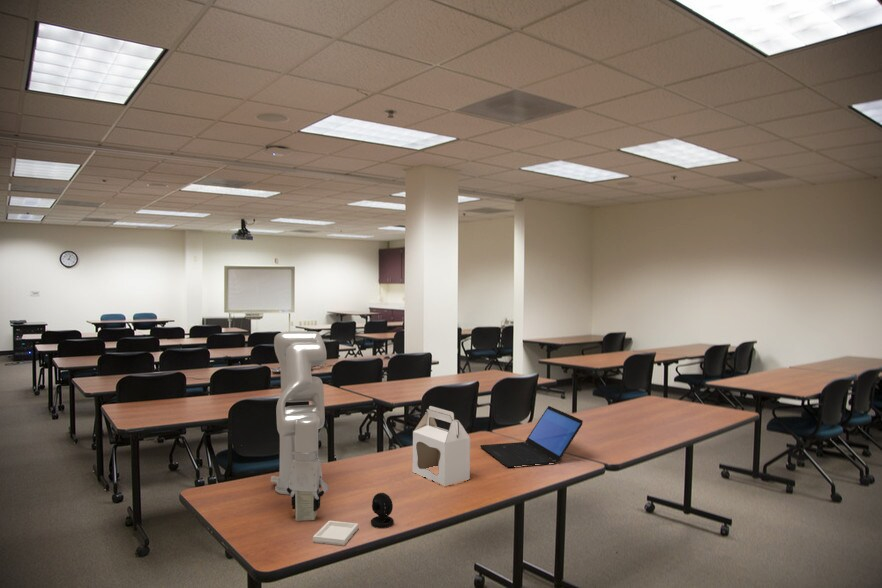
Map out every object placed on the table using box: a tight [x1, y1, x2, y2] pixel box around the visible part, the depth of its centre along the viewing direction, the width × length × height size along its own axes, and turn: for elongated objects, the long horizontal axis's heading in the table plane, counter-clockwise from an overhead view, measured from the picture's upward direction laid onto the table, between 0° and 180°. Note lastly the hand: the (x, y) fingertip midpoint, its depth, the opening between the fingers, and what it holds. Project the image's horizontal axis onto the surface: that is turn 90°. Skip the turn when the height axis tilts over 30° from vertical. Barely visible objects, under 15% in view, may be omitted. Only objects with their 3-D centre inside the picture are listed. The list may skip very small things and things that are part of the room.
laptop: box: [480, 405, 584, 468], centre depth 261 cm, size 33×38×19 cm
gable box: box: [412, 405, 471, 486], centre depth 229 cm, size 22×13×28 cm, turn 38°
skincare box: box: [294, 490, 317, 522], centre depth 185 cm, size 6×4×12 cm
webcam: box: [370, 492, 395, 529], centre depth 182 cm, size 8×8×10 cm
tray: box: [312, 520, 359, 547], centre depth 172 cm, size 10×12×2 cm
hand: (305, 508), depth 185 cm, fingers closed on skincare box, 6 cm apart
